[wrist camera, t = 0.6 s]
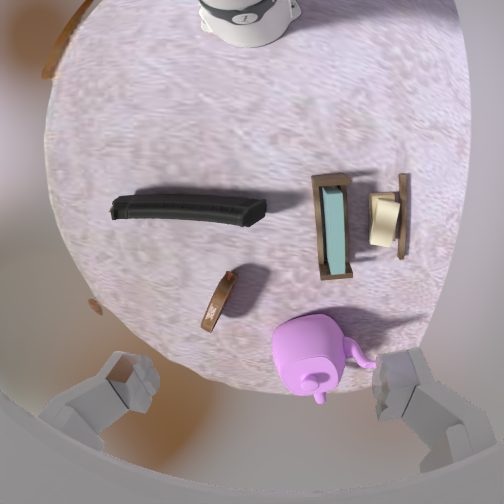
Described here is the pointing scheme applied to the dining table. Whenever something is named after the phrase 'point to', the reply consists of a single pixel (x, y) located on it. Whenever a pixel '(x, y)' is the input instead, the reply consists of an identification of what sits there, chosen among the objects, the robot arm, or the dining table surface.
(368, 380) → the dining table surface
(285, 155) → the dining table surface
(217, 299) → the tin
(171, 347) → the dining table surface
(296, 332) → the teapot
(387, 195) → the offcut middle
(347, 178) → the rack
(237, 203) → the magazine
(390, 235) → the offcut top
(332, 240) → the board
